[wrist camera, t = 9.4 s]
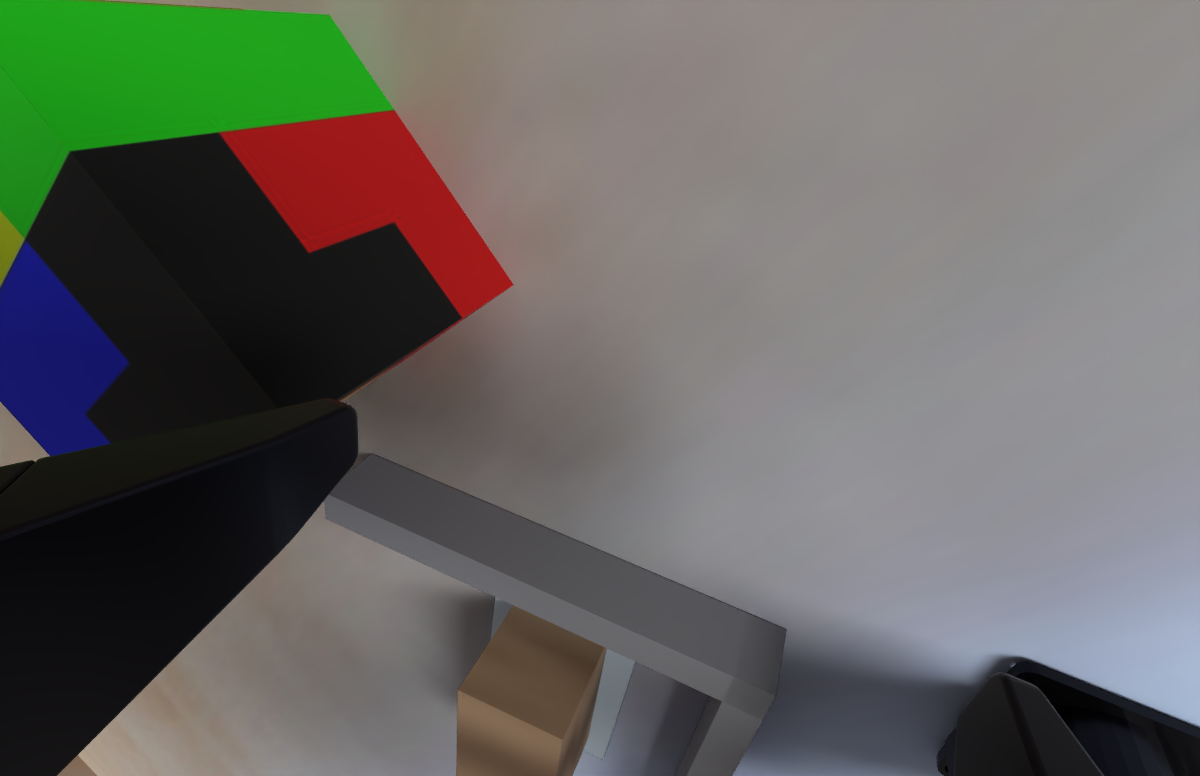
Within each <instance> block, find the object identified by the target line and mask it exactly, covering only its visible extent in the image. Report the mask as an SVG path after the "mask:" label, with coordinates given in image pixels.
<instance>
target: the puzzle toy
mask: <svg viewBox="0 0 1200 776" xmlns="http://www.w3.org/2000/svg"><path fill="white" fill-rule="evenodd" d="M511 286H513V283H512V282H511V280H510V279H509V277H508V276H507V274H506V273H505V272H504V270H503V269H502V267H501V266H500V264H499V263H498V261H497V260H496V258H495V257H494V255H493V254H492V253H491V251H490V250H489V248H488V247H487V245H486V244H485V242H484V241H483V239H482V238H481V236H480V235H479V233H478V232H477V231H476V229H475V228H474V226H473V225H472V223H471V222H470V220H469V219H468V217H467V216H466V214H465V213H464V211H463V210H462V209H461V207H460V206H459V204H458V203H457V201H456V200H455V198H454V197H453V195H452V194H451V192H450V191H449V190H448V188H447V187H446V185H445V184H444V182H443V181H442V179H441V178H440V176H439V175H438V173H437V172H436V170H435V169H434V168H433V166H432V165H431V163H430V162H429V160H428V159H427V157H426V156H425V154H424V153H423V151H422V150H421V148H420V147H419V146H418V144H417V143H416V141H415V140H414V138H413V137H412V135H411V134H410V132H409V131H408V129H407V128H406V127H405V125H404V124H403V122H402V121H401V119H400V118H399V116H398V115H397V113H396V112H395V110H394V109H393V107H392V106H391V105H390V103H389V102H388V100H387V99H386V97H385V96H384V94H383V93H382V91H381V90H380V88H379V87H378V86H377V84H376V83H375V81H374V80H373V78H372V77H371V75H370V74H369V72H368V71H367V69H366V68H365V66H364V65H363V64H362V62H361V61H360V59H359V58H358V56H357V55H356V53H355V52H354V50H353V49H352V47H351V46H350V44H349V43H348V42H347V40H346V39H345V37H344V36H343V34H342V33H341V31H340V30H339V28H338V27H337V25H336V24H335V23H334V21H333V20H332V18H331V17H330V15H329V14H313V13H297V12H281V11H265V10H249V9H233V8H217V7H201V6H185V5H169V4H153V3H136V2H120V1H104V0H0V402H1V403H2V404H3V405H4V406H5V407H6V408H7V409H8V410H9V411H10V413H11V414H12V415H13V416H14V417H15V418H16V419H17V420H18V421H19V422H20V423H21V425H22V426H23V427H24V428H25V429H26V430H27V431H28V432H29V433H30V434H31V436H32V437H33V438H34V439H35V440H36V441H37V442H38V443H39V444H40V445H41V446H42V448H43V449H44V450H45V451H46V452H47V453H48V454H49V455H50V456H54V455H59V454H64V453H69V452H73V451H78V450H83V449H88V448H92V447H97V446H102V445H107V444H111V443H116V442H121V441H126V440H130V439H135V438H140V437H145V436H149V435H154V434H159V433H164V432H168V431H173V430H178V429H183V428H187V427H192V426H197V425H202V424H206V423H211V422H216V421H221V420H225V419H230V418H235V417H240V416H244V415H249V414H254V413H259V412H263V411H268V410H273V409H278V408H282V407H287V406H292V405H297V404H301V403H306V402H311V401H316V400H321V399H326V398H331V399H335V400H338V401H340V402H344V401H345V400H347V399H348V398H350V397H351V396H353V395H354V394H356V393H357V392H359V391H360V390H361V389H363V388H364V387H366V386H367V385H369V384H370V383H372V382H373V381H375V380H376V379H377V378H379V377H380V376H382V375H383V374H385V373H386V372H388V371H389V370H391V369H392V368H393V367H395V366H396V365H398V364H399V363H401V362H402V361H404V360H405V359H406V358H408V357H409V356H411V355H412V354H414V353H415V352H417V351H418V350H420V349H421V348H422V347H424V346H425V345H427V344H428V343H430V342H431V341H433V340H434V339H436V338H437V337H438V336H440V335H441V334H443V333H444V332H446V331H447V330H449V329H450V328H452V327H453V326H454V325H456V324H457V323H459V322H460V321H462V320H463V319H465V318H466V317H468V316H469V315H470V314H472V313H473V312H475V311H476V310H478V309H479V308H481V307H482V306H484V305H485V304H486V303H488V302H489V301H491V300H492V299H494V298H495V297H497V296H498V295H500V294H501V293H502V292H504V291H505V290H507V289H508V288H510V287H511Z"/></svg>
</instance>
